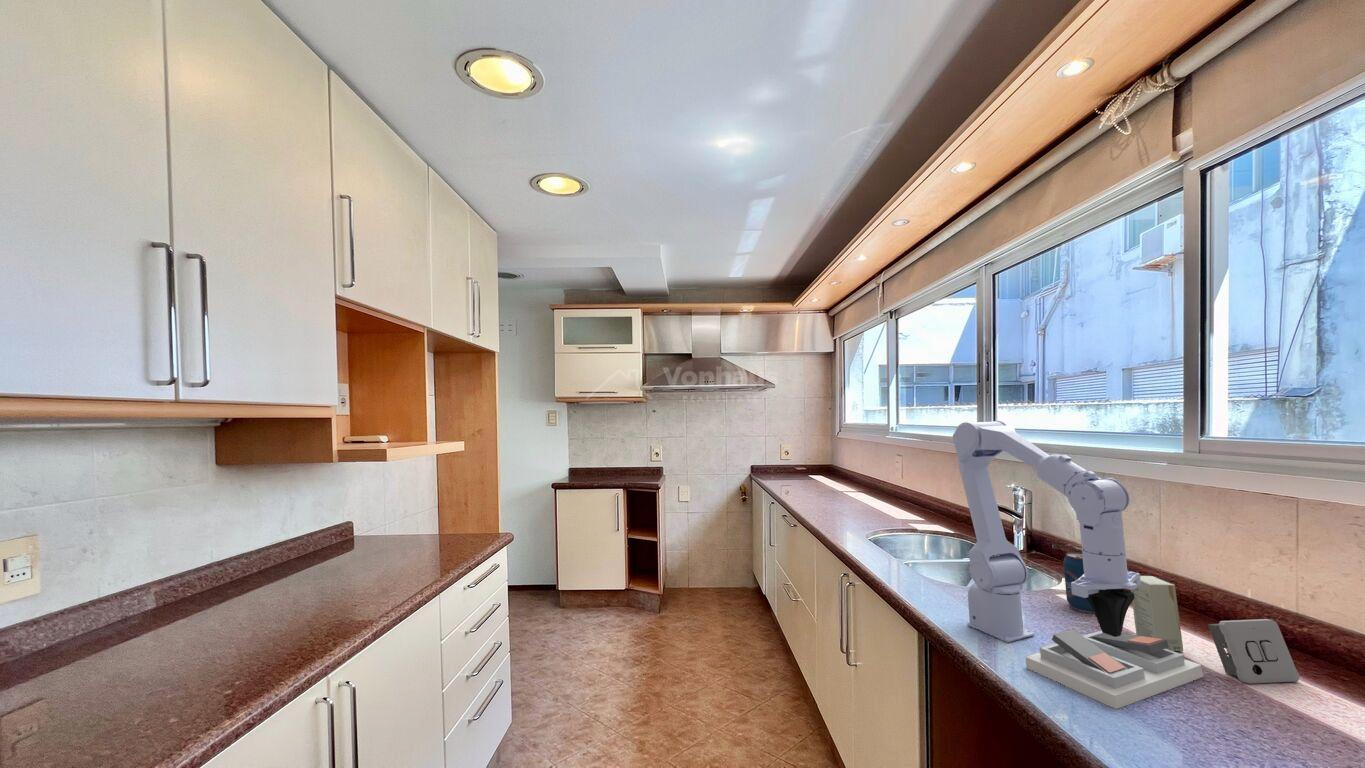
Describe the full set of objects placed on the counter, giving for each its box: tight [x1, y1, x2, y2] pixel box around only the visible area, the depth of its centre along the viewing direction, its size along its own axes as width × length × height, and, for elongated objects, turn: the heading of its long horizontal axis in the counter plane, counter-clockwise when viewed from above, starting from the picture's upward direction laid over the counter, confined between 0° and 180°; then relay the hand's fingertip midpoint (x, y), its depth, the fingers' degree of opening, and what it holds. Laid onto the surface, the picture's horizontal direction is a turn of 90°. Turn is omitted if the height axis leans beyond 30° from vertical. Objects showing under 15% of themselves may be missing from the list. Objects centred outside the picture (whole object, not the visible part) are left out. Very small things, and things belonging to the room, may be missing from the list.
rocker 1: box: [1051, 628, 1128, 675], centre depth 86 cm, size 9×5×1 cm, turn 20°
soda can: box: [1062, 551, 1095, 614], centre depth 115 cm, size 7×7×12 cm
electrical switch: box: [1207, 618, 1300, 685], centre depth 85 cm, size 9×5×9 cm, turn 90°
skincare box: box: [1130, 575, 1184, 652], centre depth 97 cm, size 6×4×12 cm
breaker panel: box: [1025, 629, 1204, 710], centre depth 87 cm, size 14×23×4 cm, turn 110°
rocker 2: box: [1092, 633, 1169, 653], centre depth 89 cm, size 9×5×1 cm, turn 20°
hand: (1111, 634), depth 84 cm, fingers closed
